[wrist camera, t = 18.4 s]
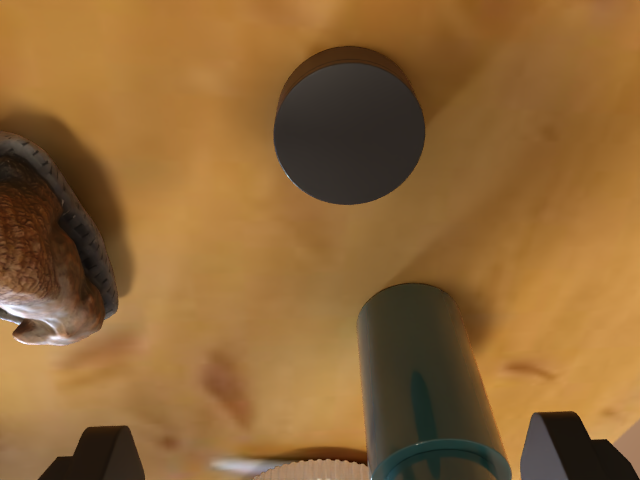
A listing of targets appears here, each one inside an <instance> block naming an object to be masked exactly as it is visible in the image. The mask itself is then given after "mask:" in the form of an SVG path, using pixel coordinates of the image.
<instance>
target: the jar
mask: <svg viewBox="0 0 640 480" xmlns="http://www.w3.org/2000/svg"><path fill="white" fill-rule="evenodd" d="M357 339H358V351H359V363H360V375H361V387H362V400H363V412H364V424H365V436H366V448H367V461H368V473H369V480H511V479H512V472H511V468H510V464H509V461H508V458H507V455H506V452H505V449H504V446H503V443H502V440H501V437H500V433H499V430H498V427H497V424H496V421H495V418H494V415H493V412H492V409H491V406H490V403H489V399H488V396H487V393H486V390H485V387H484V384H483V381H482V378H481V375H480V372H479V369H478V365H477V362H476V359H475V356H474V353H473V350H472V347H471V344H470V341H469V338H468V334H467V331H466V328H465V325H464V322H463V319H462V316H461V313H460V310H459V307H458V305H457V304H456V302H455V301H454V300H453V299H452V298H451V297H450V296H449V295H448V294H447V293H445V292H444V291H442V290H440V289H438V288H436V287H433V286H430V285H425V284H416V283H413V284H401V285H397V286H393V287H390V288H387V289H385V290H383V291H381V292H379V293H378V294H376V295H375V296H373V297H372V298H371V299H370V300H369V301H368V302H367V303H366V304H365V305H364V307H363V308H362V310H361V312H360V314H359V316H358V320H357Z"/></svg>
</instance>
